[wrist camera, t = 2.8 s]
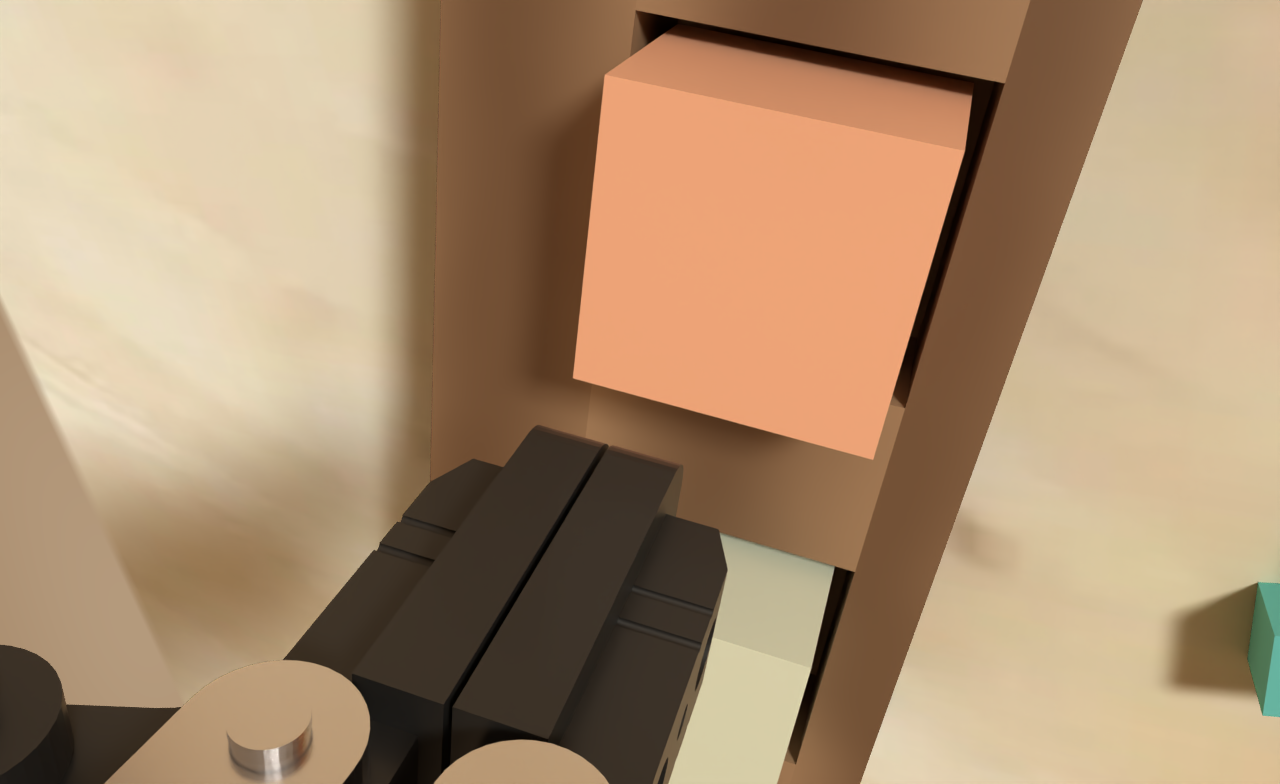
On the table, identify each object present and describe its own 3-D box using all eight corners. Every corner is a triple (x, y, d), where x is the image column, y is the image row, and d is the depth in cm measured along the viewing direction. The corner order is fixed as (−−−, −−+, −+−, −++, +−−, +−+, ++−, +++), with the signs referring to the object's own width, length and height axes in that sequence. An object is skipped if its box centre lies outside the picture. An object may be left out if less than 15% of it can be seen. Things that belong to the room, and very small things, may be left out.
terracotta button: (974, 83, 18) (965, 150, 14) (895, 350, 20) (872, 459, 17) (677, 24, 19) (604, 74, 15) (641, 287, 21) (572, 378, 18)
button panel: (1431, -944, 13) (1591, -1225, 9) (859, 717, 29) (837, 849, 25) (588, -956, 15) (454, -1190, 11) (489, 598, 31) (420, 704, 27)
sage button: (840, 540, 23) (811, 668, 20) (793, 704, 26) (760, 840, 22) (615, 475, 24) (550, 586, 21) (592, 640, 27) (532, 761, 23)
